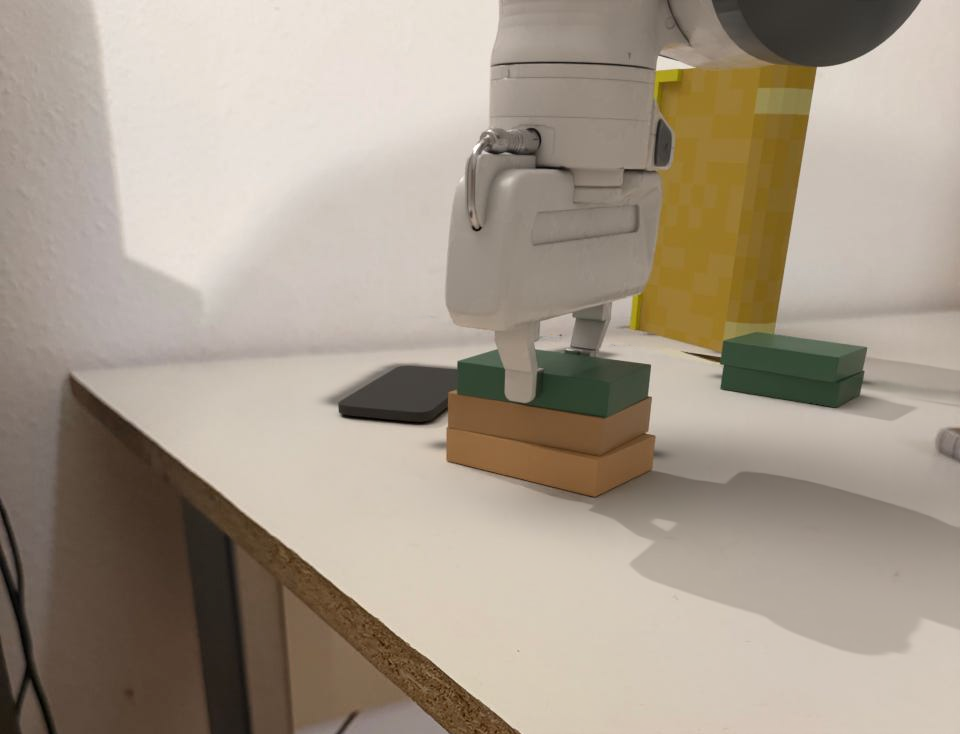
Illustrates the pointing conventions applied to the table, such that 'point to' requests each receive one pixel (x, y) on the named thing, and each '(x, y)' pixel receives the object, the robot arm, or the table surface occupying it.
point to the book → (725, 201)
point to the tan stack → (550, 443)
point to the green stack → (793, 368)
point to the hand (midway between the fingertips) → (553, 387)
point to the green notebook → (562, 382)
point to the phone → (403, 394)
